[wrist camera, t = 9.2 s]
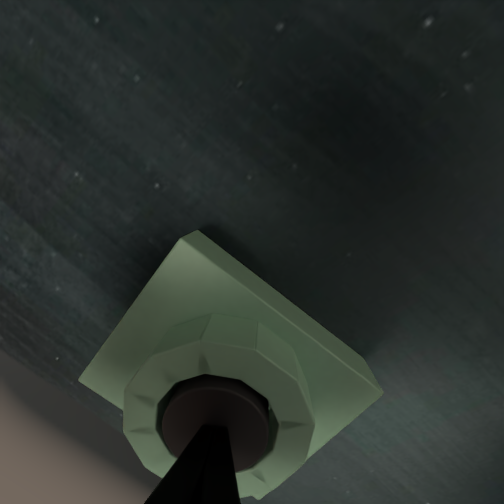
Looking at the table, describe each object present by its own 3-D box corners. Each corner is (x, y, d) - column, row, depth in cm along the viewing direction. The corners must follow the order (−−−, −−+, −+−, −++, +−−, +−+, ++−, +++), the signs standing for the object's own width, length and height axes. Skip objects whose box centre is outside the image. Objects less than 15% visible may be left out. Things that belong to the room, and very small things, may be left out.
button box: (363, 357, 12) (412, 438, 8) (260, 452, 13) (257, 557, 10) (197, 228, 11) (157, 247, 7) (109, 348, 12) (37, 418, 9)
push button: (287, 389, 9) (291, 431, 8) (232, 442, 10) (225, 492, 9) (214, 335, 9) (201, 367, 7) (162, 395, 10) (141, 436, 8)
